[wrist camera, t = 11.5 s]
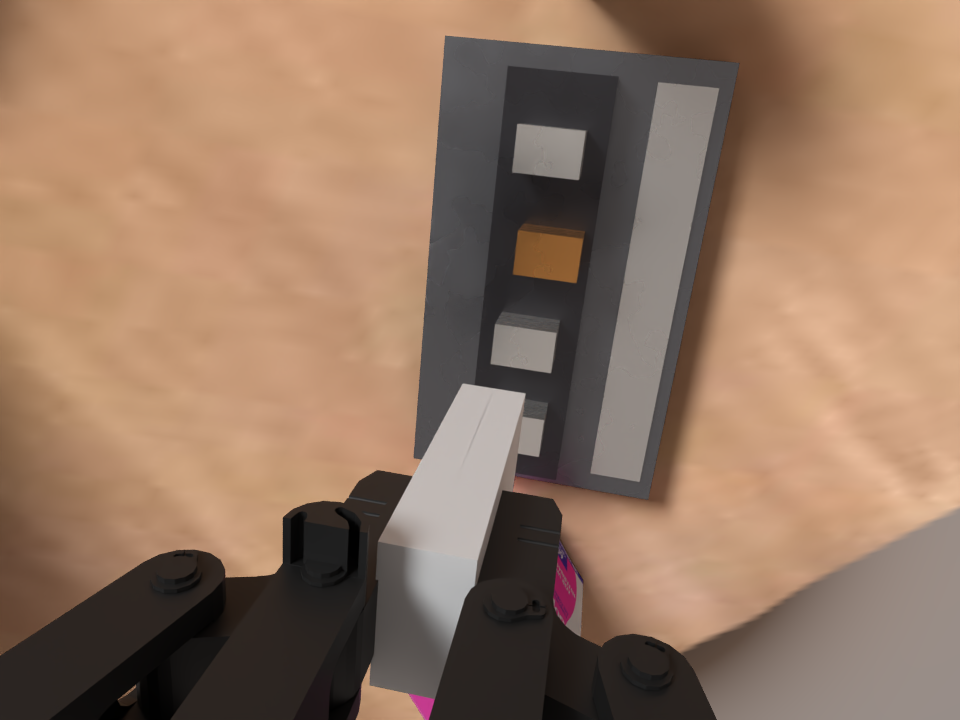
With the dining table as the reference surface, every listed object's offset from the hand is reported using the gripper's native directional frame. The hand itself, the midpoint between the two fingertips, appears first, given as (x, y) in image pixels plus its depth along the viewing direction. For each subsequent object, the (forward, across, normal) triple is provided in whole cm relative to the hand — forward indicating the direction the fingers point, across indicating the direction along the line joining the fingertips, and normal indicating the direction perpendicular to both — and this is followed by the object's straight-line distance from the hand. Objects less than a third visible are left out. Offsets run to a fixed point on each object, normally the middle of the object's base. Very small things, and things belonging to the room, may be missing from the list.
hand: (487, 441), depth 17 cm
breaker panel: (+19, 0, 0) cm, 19 cm away
